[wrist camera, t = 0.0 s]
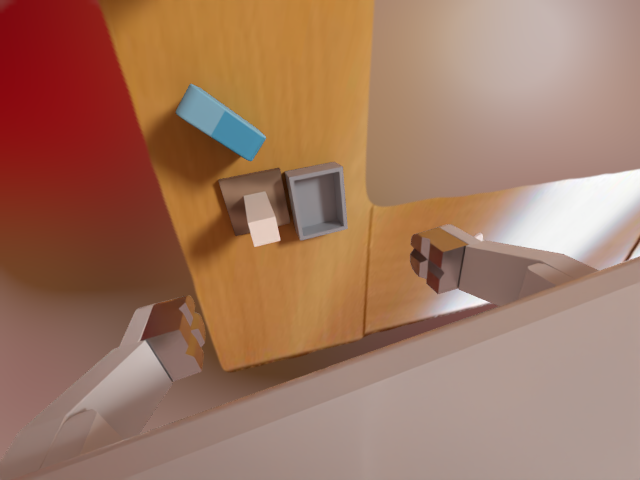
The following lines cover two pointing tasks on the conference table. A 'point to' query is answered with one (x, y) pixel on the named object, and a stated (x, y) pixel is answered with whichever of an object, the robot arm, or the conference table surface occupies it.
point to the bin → (317, 199)
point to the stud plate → (253, 184)
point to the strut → (261, 219)
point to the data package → (220, 122)
